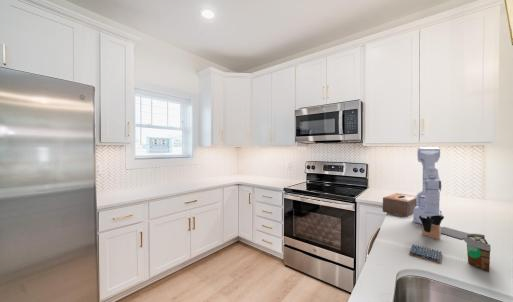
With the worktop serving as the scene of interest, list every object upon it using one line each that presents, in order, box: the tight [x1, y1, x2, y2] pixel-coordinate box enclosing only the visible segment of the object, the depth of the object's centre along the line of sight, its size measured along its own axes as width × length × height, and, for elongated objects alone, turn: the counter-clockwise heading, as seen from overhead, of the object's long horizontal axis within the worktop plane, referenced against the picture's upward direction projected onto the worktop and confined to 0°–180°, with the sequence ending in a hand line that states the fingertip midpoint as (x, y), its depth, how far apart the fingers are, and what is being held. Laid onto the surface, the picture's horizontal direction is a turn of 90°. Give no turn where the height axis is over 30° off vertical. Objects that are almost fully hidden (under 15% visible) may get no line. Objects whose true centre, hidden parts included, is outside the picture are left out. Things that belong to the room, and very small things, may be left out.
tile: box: [421, 224, 442, 240], centre depth 107 cm, size 7×2×6 cm, turn 27°
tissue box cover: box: [382, 192, 417, 218], centre depth 152 cm, size 26×14×10 cm, turn 130°
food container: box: [463, 233, 492, 273], centre depth 82 cm, size 12×6×10 cm, turn 141°
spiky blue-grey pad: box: [408, 243, 443, 264], centre depth 89 cm, size 10×11×2 cm
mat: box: [441, 226, 470, 241], centre depth 112 cm, size 12×12×1 cm
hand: (431, 230), depth 107 cm, fingers open, 7 cm apart
